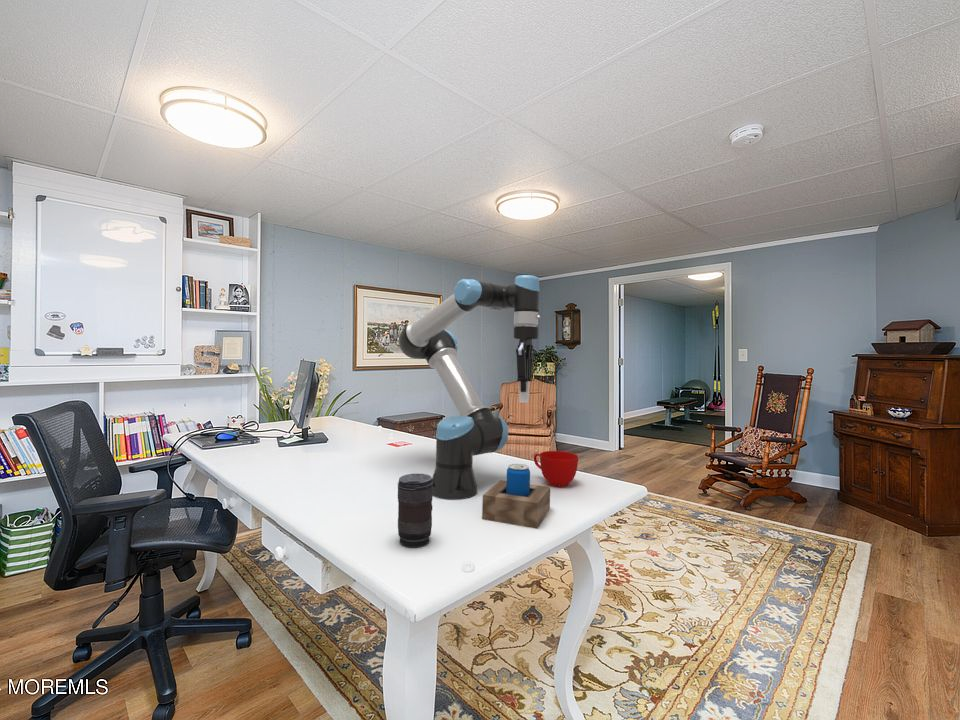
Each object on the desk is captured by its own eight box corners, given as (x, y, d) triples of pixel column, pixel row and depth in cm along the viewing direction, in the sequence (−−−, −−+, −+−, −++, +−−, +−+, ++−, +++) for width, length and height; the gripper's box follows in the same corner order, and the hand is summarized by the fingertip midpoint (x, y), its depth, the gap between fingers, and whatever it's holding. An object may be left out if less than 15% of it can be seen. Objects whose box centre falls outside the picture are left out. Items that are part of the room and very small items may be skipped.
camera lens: (398, 534, 106) (399, 472, 106) (432, 534, 107) (433, 472, 106) (394, 549, 98) (396, 482, 98) (431, 548, 99) (432, 482, 98)
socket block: (482, 519, 117) (482, 494, 117) (500, 501, 131) (500, 480, 131) (536, 528, 112) (537, 503, 111) (549, 509, 126) (550, 486, 125)
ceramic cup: (544, 474, 162) (545, 447, 162) (584, 484, 151) (585, 455, 150) (522, 480, 153) (523, 452, 153) (563, 492, 141) (564, 461, 141)
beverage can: (531, 507, 123) (532, 464, 123) (526, 515, 117) (527, 470, 117) (509, 504, 125) (510, 462, 125) (502, 511, 119) (504, 467, 119)
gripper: (532, 324, 128) (530, 405, 128) (542, 327, 140) (540, 401, 141) (508, 324, 131) (506, 403, 131) (520, 327, 143) (518, 399, 143)
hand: (524, 402), depth 136 cm, fingers closed
